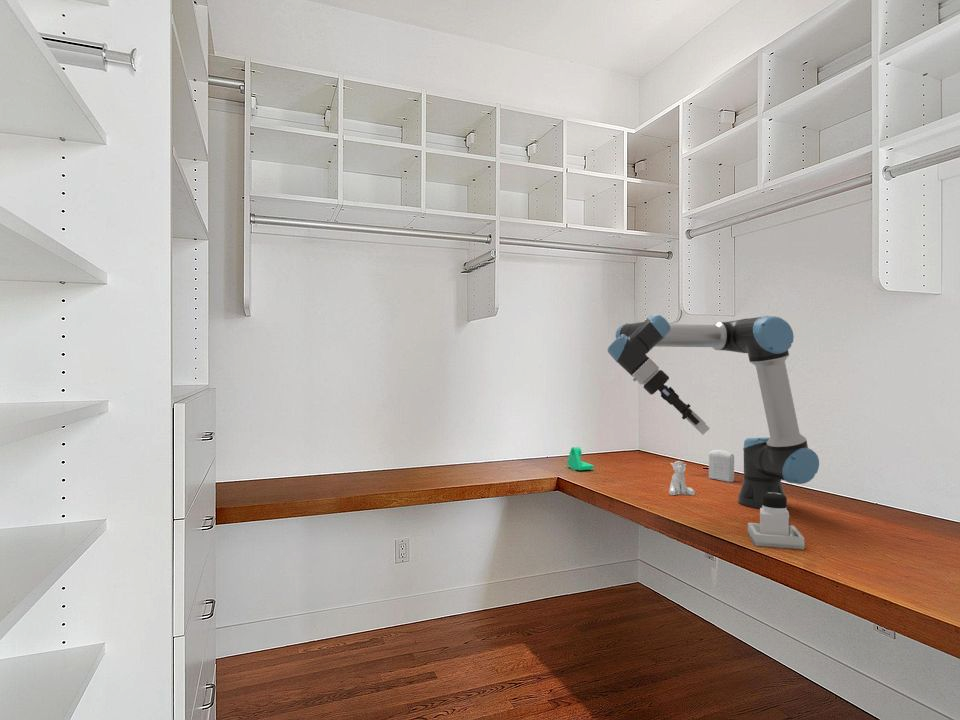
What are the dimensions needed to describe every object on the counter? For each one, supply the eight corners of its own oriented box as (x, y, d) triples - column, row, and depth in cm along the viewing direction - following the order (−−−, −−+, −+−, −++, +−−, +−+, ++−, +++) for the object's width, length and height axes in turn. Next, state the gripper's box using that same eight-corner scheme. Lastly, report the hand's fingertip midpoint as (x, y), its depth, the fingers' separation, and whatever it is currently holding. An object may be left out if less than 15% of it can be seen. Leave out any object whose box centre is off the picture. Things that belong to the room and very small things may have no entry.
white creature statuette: (670, 496, 217) (670, 463, 217) (662, 490, 226) (662, 459, 226) (695, 495, 217) (695, 463, 217) (686, 490, 226) (686, 459, 226)
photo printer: (735, 481, 243) (735, 451, 243) (730, 482, 240) (730, 452, 240) (712, 477, 251) (712, 448, 251) (707, 478, 248) (707, 449, 248)
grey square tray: (747, 533, 171) (747, 522, 171) (793, 536, 167) (793, 525, 167) (754, 545, 159) (754, 534, 159) (804, 549, 156) (804, 538, 156)
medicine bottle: (789, 542, 158) (789, 497, 158) (760, 539, 161) (760, 495, 161) (788, 535, 165) (788, 492, 165) (760, 532, 168) (760, 490, 168)
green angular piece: (594, 471, 265) (594, 448, 265) (578, 472, 263) (578, 449, 263) (582, 466, 277) (582, 444, 277) (567, 467, 275) (567, 445, 275)
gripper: (642, 384, 191) (692, 432, 187) (641, 388, 167) (697, 443, 163) (659, 368, 189) (710, 416, 185) (660, 369, 165) (718, 424, 161)
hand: (704, 428), depth 174 cm, fingers open, 13 cm apart
